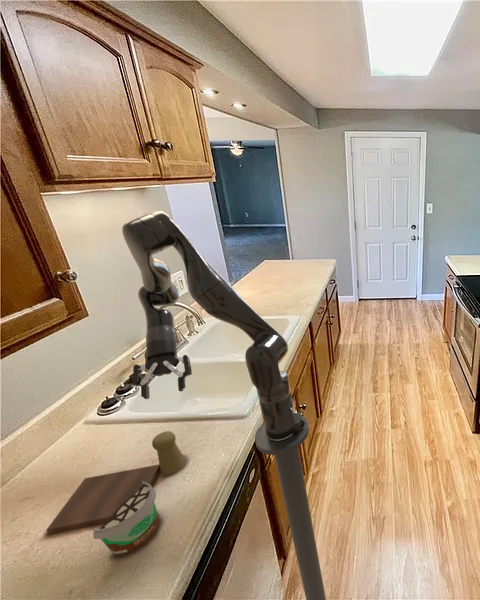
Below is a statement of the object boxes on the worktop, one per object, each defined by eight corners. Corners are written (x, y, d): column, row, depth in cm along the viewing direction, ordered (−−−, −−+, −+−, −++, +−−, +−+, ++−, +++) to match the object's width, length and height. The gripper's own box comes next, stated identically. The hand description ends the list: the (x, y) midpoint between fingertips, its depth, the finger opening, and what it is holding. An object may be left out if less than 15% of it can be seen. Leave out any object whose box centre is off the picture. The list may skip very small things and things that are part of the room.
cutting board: (161, 468, 92) (160, 464, 92) (137, 515, 80) (135, 511, 79) (86, 482, 89) (84, 478, 88) (48, 534, 76) (46, 530, 75)
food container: (132, 568, 69) (115, 537, 65) (107, 562, 70) (90, 532, 66) (178, 511, 80) (166, 482, 77) (156, 507, 81) (144, 478, 78)
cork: (183, 453, 97) (172, 424, 93) (188, 466, 93) (177, 436, 89) (158, 465, 93) (146, 435, 89) (162, 479, 89) (150, 448, 85)
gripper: (127, 344, 95) (128, 399, 90) (184, 334, 101) (188, 385, 95) (138, 351, 102) (140, 403, 97) (191, 341, 107) (195, 390, 102)
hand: (164, 394), depth 96 cm, fingers open, 8 cm apart
